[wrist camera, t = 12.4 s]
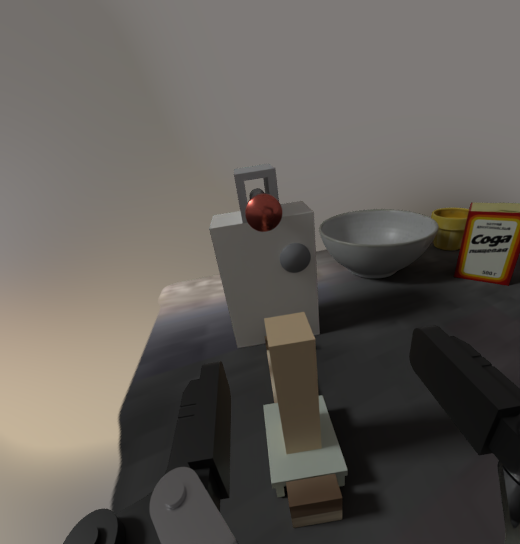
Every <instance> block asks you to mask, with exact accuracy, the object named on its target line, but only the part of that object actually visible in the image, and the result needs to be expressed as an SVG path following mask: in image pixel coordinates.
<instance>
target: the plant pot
mask: <svg viewBox="0 0 520 544" xmlns="http://www.w3.org/2000/svg"><path fill="white" fill-rule="evenodd" d="M468 211H469V209H464V208H442V209H437V210H434V211H433V212H432V216H431V218H432V219H434V220H435V221H436V222H437V223H438V226H439V229H438V232H437V234H436V236H435V238H434V240H433V242H434V246H435V247H436V248H439V249H442V250H458V249H460V247H461V243H462V238H463V234H464V229H465V225H466V220H467V216H468Z"/></svg>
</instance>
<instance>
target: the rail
mask: <svg viewBox="0 0 520 544" xmlns="http://www.w3.org/2000/svg"><path fill="white" fill-rule="evenodd" d="M265 343H266V348H267V355H268V362H269V368H270V375H271V382H272V389H273V395H274V402H275V403H278V401H277V395H276V389H275V383H274V377H273V371H272V365H271V359H270V353H269V347H268V341H267V336H265ZM286 486H287V493H288V500H289V507H290V512H291V518H292V523H293V528H296V527H302V526H307V525H313V524H319V523H324V522H330V521H336V520H342V495H341V492H340V488H339V485H338V482H337V478H336V475H335V474H331V475H325V476H319V477H313V478H307V479H302V480H296V481H290V482H286Z"/></svg>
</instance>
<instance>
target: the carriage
mask: <svg viewBox="0 0 520 544" xmlns="http://www.w3.org/2000/svg"><path fill="white" fill-rule="evenodd" d="M264 322H265V328H266V334H267V341H268V347H269V353H270V359H271V365H272V371H273V377H274V383H275V389H276V395H277V401H278V403H274V404H268V405H263V406H264V415H265V425H266V435H267V444H268V454H269V463H270V473H271V483H272V487H273V488H276V492H277V497H282V496H285V493H284V486H286V482H290V481H296V480H302V479H307V478H313V477H319V476H325V475H331V474H335V475H336V478H337V482H338V485H339V487H340V486H345V476H347V475H348V470H347V467H346V464H345V461H344V458H343V455H342V452H341V449H340V446H339V443H338V440H337V437H336V434H335V431H334V429H333V426H332V423H331V420H330V417H329V414H328V411H327V408H326V405H325V402H324V399H323V396H322V395H321V396H319V395H318V378H317V361H316V344H315V337H314V335H313V332H312V330H311V327H310V325H309V322H308V320H307V317H306V315H305V312H300V313H294V314H288V315H282V316H276V317H270V318H264Z"/></svg>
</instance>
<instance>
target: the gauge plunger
mask: <svg viewBox="0 0 520 544" xmlns="http://www.w3.org/2000/svg"><path fill="white" fill-rule="evenodd" d="M245 215H246V220H247V222H248V224H249V225H250V226H251V227H252V228H253V229H255V230H257V231H260V232H267V231H270V230H272V229H274V228H275V227H276V226H277V225H278V224H279V223H280V221H281V219H282V207H281V205H280V203H279V202H278V200H277V199H276V198H275V197H274V196H272V195H270V194H266V193H264V192H263V191H262V190H261V189H258V188H257V189H254V190H252V191H251V193H250V200H249V202H248V203H247V205H246V209H245Z"/></svg>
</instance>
